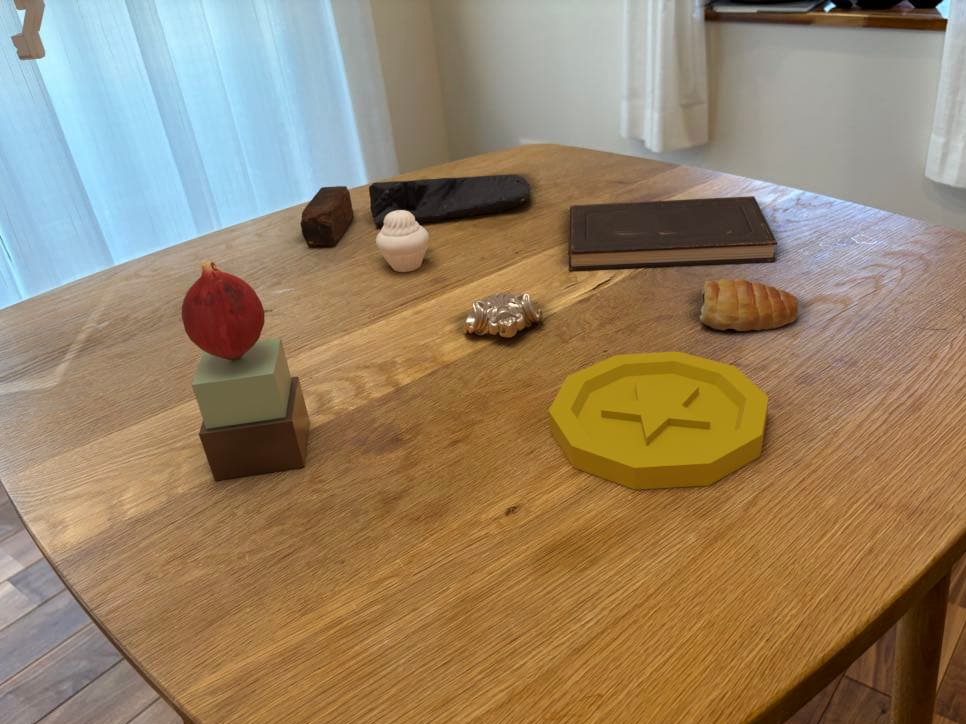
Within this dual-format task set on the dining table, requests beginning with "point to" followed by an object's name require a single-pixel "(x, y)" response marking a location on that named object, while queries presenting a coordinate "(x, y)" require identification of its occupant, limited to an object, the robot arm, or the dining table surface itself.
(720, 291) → the pastry
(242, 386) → the sage block
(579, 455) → the decorative disc
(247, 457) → the walnut block
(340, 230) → the dark brown bar
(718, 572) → the dining table surface
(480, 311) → the ornament
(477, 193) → the dark slate chunk
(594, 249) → the hardcover book
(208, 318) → the onion
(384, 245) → the cream cupcake
